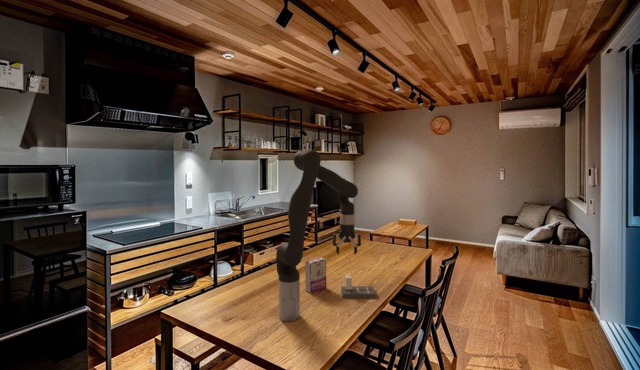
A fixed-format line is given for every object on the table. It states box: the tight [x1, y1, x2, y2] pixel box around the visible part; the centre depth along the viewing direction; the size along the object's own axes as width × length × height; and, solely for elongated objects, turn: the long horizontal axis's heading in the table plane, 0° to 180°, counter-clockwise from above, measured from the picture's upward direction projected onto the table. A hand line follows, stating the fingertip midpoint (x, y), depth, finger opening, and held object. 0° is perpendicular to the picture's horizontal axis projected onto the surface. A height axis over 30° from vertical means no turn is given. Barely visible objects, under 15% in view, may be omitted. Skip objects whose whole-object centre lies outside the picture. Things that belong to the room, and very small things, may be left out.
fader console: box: [340, 285, 377, 299], centre depth 174 cm, size 10×17×2 cm, turn 91°
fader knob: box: [344, 274, 353, 290], centre depth 173 cm, size 4×3×7 cm
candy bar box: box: [304, 256, 327, 294], centre depth 179 cm, size 11×5×16 cm, turn 129°
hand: (346, 253), depth 171 cm, fingers open, 8 cm apart
